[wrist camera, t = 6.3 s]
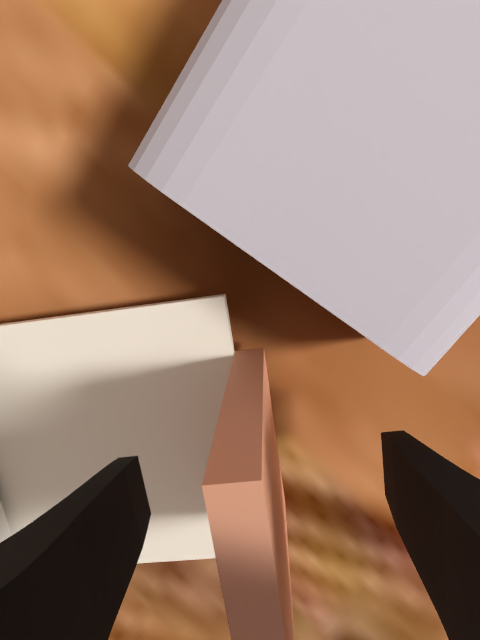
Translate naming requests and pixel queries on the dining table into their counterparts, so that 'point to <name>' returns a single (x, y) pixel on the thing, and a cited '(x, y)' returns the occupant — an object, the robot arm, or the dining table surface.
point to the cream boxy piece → (155, 439)
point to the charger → (339, 157)
